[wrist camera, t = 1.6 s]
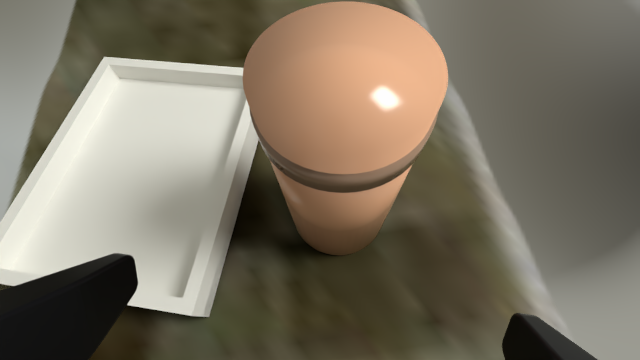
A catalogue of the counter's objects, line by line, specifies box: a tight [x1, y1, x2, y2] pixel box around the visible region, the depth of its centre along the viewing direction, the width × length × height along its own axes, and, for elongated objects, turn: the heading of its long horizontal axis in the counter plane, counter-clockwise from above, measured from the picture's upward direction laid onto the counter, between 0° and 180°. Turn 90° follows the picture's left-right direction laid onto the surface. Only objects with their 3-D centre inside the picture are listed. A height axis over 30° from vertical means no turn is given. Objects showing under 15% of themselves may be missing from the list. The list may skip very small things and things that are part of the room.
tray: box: [0, 57, 259, 317], centre depth 22 cm, size 18×14×2 cm
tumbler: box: [243, 2, 448, 255], centre depth 15 cm, size 7×7×13 cm
